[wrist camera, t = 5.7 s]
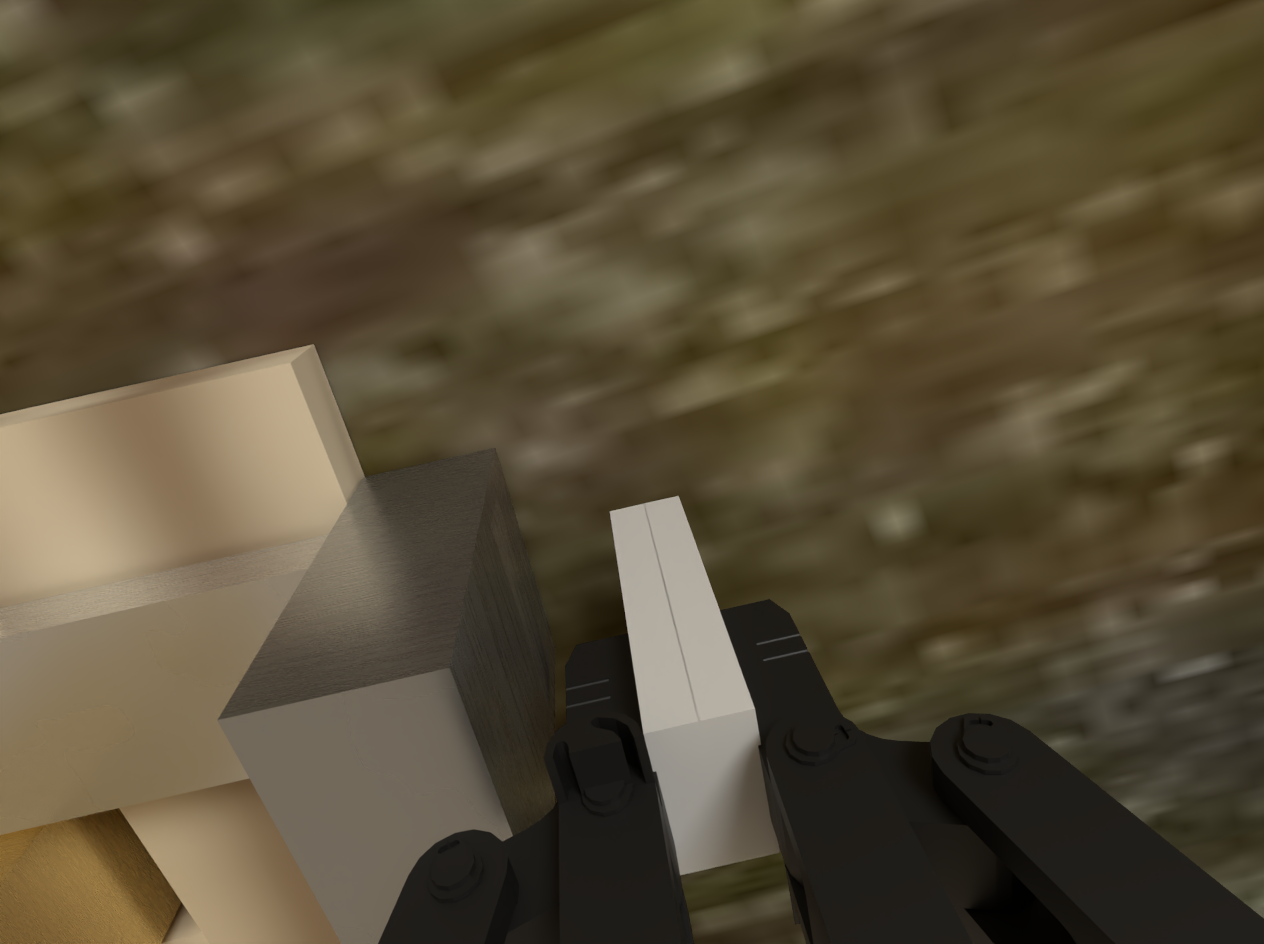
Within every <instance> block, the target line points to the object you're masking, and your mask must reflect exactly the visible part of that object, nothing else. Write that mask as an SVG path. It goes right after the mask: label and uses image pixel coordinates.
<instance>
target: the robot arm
mask: <svg viewBox="0 0 1264 944" xmlns="http://www.w3.org/2000/svg"><path fill="white" fill-rule="evenodd" d="M610 516H611V523H612V529H613V536H614V543H615V549H616V556H617V563H618V569H619V576H620V582H621V589H622V596H623V602H624V609H625V615H626V622H627V629H628V633H627V634H623V635H618V636H614V637H609V638H605V639H601V640H596V641H592V642H587V643H583V644H578V645H576V647H575V649H574V651H573V653H572V654H571V656H570V658H569V660H568V662H567V664H566V666H565V671H566V706H567V709H566V724H565V725H564V726H562V727H561V728H560V729H558V730H557V731H556V733H555V734H554V735H553V737H552V738H551V739H550V741H549V742H548V743H547V747H546V751H545V754H544V758H543V759H544V762H545V765H546V768H547V771H548V774H549V777H550V780H551V783H552V786H553V789H554V792H555V795H556V798H557V801H558V802H557V803H556V805H555V806H554V807H553V809H552V810H551V811H550V812H549V813H547V814H546V815H545V816H544V817H543V818H542V819H541V820H539V821H538V822H536V823H535V824H533V825H532V826H530V827H529V828H527V829H525V830H523V831H521V832H520V833H518V834H516V835H514V836H512V837H510V838H508V839H506V840H504V841H501V840H500V839H499V838H497V837H496V836H495V835H494V834H492V833H491V832H487V831H481V830H476V829H472V830H467V831H462V832H457V833H454V834H452V835H450V836H448V837H446V838H444V839H442V840H440V841H438V842H436V843H435V844H434V845H433V846H432V847H431V848H430V849H428V850H427V851H426V852H425V853H424V854H423V855H422V856H421V857H420V858H419V859H418V861H417V862H416V864H415V866H414V867H413V869H412V870H411V872H410V873H409V875H408V877H407V879H406V882H405V884H404V886H403V888H402V891H401V893H400V895H399V897H398V900H397V902H396V904H395V906H394V909H393V911H392V913H391V915H390V918H389V920H388V922H387V924H386V927H385V929H384V931H383V933H382V936H381V938H380V940H379V942H378V944H694V940H693V935H692V929H691V923H690V918H689V912H688V908H687V904H686V900H685V896H684V893H683V889H682V883H681V877H680V875H684V874H688V873H692V872H697V871H701V870H705V869H710V868H714V867H719V866H723V865H727V864H732V863H736V862H740V861H745V860H749V859H754V858H758V857H762V856H767V855H771V854H775V853H780V851H779V847H780V850H781V853H782V856H783V859H784V862H785V868H786V873H787V879H788V885H789V891H790V897H791V903H792V909H793V915H794V921H795V925H796V924H800V925H801V928H802V931H803V934H804V937H805V941H806V944H973V943H974V944H1264V919H1263V918H1262V917H1261V916H1260V915H1258V914H1257V913H1256V912H1255V911H1253V910H1252V909H1251V908H1250V907H1248V906H1247V905H1246V904H1245V903H1243V902H1242V901H1241V900H1240V899H1238V898H1237V897H1236V896H1235V895H1234V894H1232V893H1231V892H1230V891H1229V890H1227V889H1226V888H1225V887H1224V886H1222V885H1221V884H1220V883H1219V882H1217V881H1216V880H1215V879H1214V878H1212V877H1211V876H1210V875H1209V874H1207V873H1206V872H1205V871H1204V870H1202V869H1201V868H1200V867H1199V866H1197V865H1196V864H1195V863H1194V862H1192V861H1191V860H1190V859H1189V858H1187V857H1186V856H1185V855H1184V854H1182V853H1181V852H1180V851H1179V850H1177V849H1176V848H1175V847H1174V846H1172V845H1171V844H1170V843H1169V842H1167V841H1166V840H1165V839H1164V838H1162V837H1161V836H1160V835H1159V834H1157V833H1156V832H1155V831H1154V830H1152V829H1151V828H1150V827H1149V826H1147V825H1146V824H1145V823H1144V822H1142V821H1141V820H1140V819H1139V818H1137V817H1136V816H1135V815H1134V814H1133V813H1131V812H1130V811H1129V810H1128V809H1126V808H1125V807H1124V806H1123V805H1121V804H1120V803H1119V802H1118V801H1116V800H1115V799H1114V798H1113V797H1111V796H1110V795H1109V794H1108V793H1106V792H1105V791H1104V790H1103V789H1101V788H1100V787H1099V786H1098V785H1096V784H1095V783H1094V782H1093V781H1091V780H1090V779H1089V778H1088V777H1086V776H1085V775H1084V774H1083V773H1081V772H1080V771H1079V770H1078V769H1076V768H1075V767H1074V766H1073V765H1071V764H1070V763H1069V762H1068V761H1066V760H1065V759H1064V758H1063V757H1061V756H1060V755H1059V754H1058V753H1056V752H1055V751H1054V750H1053V749H1051V748H1050V747H1049V746H1048V745H1046V744H1045V743H1044V742H1043V741H1041V740H1040V739H1039V738H1038V737H1036V736H1035V735H1034V734H1033V733H1031V732H1030V731H1029V730H1027V729H1025V728H1024V727H1022V726H1020V725H1019V724H1017V723H1015V722H1013V721H1012V720H1009V719H1006V718H1002V717H999V716H995V715H991V714H973V713H968V714H964V715H960V716H956V717H953V718H949V719H948V720H947V721H945V722H944V723H943V724H941V725H940V726H938V727H937V728H936V730H935V732H934V734H933V736H932V738H931V741H930V742H912V741H895V740H887V739H881V738H878V737H875V736H872V735H868V734H866V733H864V732H863V731H861V730H859V729H858V728H857V727H856V726H855V724H854V723H853V722H851V721H850V720H848V719H846V718H844V717H843V716H842V714H841V713H840V711H839V710H838V708H837V706H836V704H835V702H834V700H833V698H832V696H831V694H830V692H829V690H828V688H827V686H826V684H825V683H824V681H823V679H822V677H821V675H820V673H819V671H818V669H817V667H816V665H815V663H814V661H813V659H812V657H811V655H810V653H809V652H808V651H807V647H806V645H805V643H804V641H803V639H802V637H801V636H800V635H799V631H798V629H797V627H796V626H795V624H794V622H793V620H792V618H791V616H790V614H789V613H788V612H787V611H785V610H784V609H783V608H781V607H780V606H778V605H777V604H775V603H774V602H773V601H771V600H770V599H768V600H764V601H760V602H755V603H751V604H746V605H742V606H737V607H733V608H729V609H724V610H719V607H718V604H717V602H716V599H715V596H714V593H713V591H712V588H711V585H710V582H709V579H708V577H707V574H706V571H705V568H704V565H703V563H702V560H701V557H700V554H699V552H698V549H697V546H696V543H695V540H694V538H693V535H692V532H691V529H690V527H689V524H688V521H687V518H686V515H685V513H684V510H683V507H682V504H681V501H680V499H679V496H676V497H671V498H667V499H662V500H658V501H654V502H649V503H645V504H640V505H636V506H631V507H627V508H623V509H618V510H614V511H610ZM778 843H779V846H778ZM972 942H973V943H972Z"/></svg>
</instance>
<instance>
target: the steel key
mask: <svg viewBox="0 0 1264 944" xmlns="http://www.w3.org/2000/svg"><path fill="white" fill-rule="evenodd" d="M554 734H555V645H554V641H553V638H552V635H551V631H550V628H549V625H548V621H547V618H546V615H545V611H544V608H543V605H542V601H541V598H540V595H539V591H538V588H537V585H536V581H535V578H534V575H533V571H532V568H531V565H530V561H529V558H528V555H527V552H526V548H525V545H524V542H523V538H522V535H521V532H520V528H519V525H518V522H517V518H516V515H515V512H514V508H513V505H512V502H511V498H510V495H509V492H508V488H507V485H506V482H505V478H504V475H503V472H502V468H501V465H500V462H499V458H498V455H497V452H496V448H492V449H488V450H484V451H479V452H475V453H470V454H466V455H461V456H457V457H452V458H448V459H443V460H439V461H435V462H430V463H426V464H421V465H417V466H412V467H408V468H403V469H399V470H395V471H390V472H386V473H381V474H377V475H372V476H368V477H363V478H362V480H361V481H360V483H359V485H358V486H357V488H356V490H355V491H354V493H353V495H352V496H351V498H350V500H349V501H348V503H347V505H346V506H345V508H344V510H343V511H342V513H341V515H340V516H339V518H338V520H337V521H336V523H335V525H334V526H333V528H332V530H331V531H330V533H329V534H327V535H322V536H318V537H313V538H309V539H304V540H300V541H295V542H291V543H287V544H282V545H278V546H273V547H269V548H264V549H260V550H255V551H251V552H247V553H242V554H238V555H233V556H229V557H224V558H220V559H215V560H211V561H207V562H202V563H198V564H193V565H189V566H184V567H180V568H175V569H171V570H167V571H162V572H158V573H153V574H149V575H144V576H140V577H135V578H131V579H127V580H122V581H118V582H113V583H109V584H104V585H100V586H95V587H91V588H87V589H82V590H78V591H73V592H69V593H64V594H60V595H55V596H51V597H46V598H42V599H38V600H33V601H29V602H24V603H20V604H15V605H11V606H6V607H2V608H0V835H2V834H7V833H11V832H15V831H20V830H24V829H29V828H33V827H37V826H42V825H46V824H51V823H55V822H59V821H64V820H68V819H73V818H77V817H82V816H86V815H90V814H95V813H99V812H104V811H108V810H112V809H117V808H121V807H126V806H130V805H134V804H139V803H143V802H148V801H152V800H157V799H161V798H165V797H170V796H174V795H179V794H183V793H187V792H192V791H196V790H201V789H205V788H209V787H214V786H218V785H223V784H227V783H231V782H236V781H240V780H245V779H250V780H251V782H252V784H253V786H254V787H255V789H256V791H257V793H258V795H259V796H260V798H261V800H262V802H263V804H264V805H265V807H266V809H267V811H268V813H269V814H270V816H271V818H272V820H273V822H274V823H275V825H276V827H277V829H278V831H279V832H280V834H281V836H282V838H283V840H284V841H285V843H286V845H287V847H288V849H289V850H290V852H291V854H292V856H293V858H294V859H295V861H296V863H297V865H298V866H299V868H300V870H301V872H302V874H303V875H304V877H305V879H306V881H307V883H308V884H309V886H310V888H311V890H312V892H313V893H314V895H315V897H316V899H317V901H318V902H319V904H320V906H321V908H322V910H323V911H324V913H325V915H326V917H327V919H328V920H329V922H330V924H331V926H332V928H333V929H334V931H335V933H336V935H337V937H338V938H339V940H340V942H341V944H378V942H379V940H380V938H381V936H382V933H383V931H384V929H385V927H386V924H387V922H388V920H389V918H390V915H391V913H392V911H393V909H394V906H395V904H396V902H397V900H398V897H399V895H400V893H401V891H402V888H403V886H404V884H405V882H406V879H407V877H408V875H409V873H410V872H411V870H412V869H413V867H414V866H415V864H416V862H417V861H418V859H419V858H420V857H421V856H422V855H423V854H424V853H425V852H426V851H427V850H428V849H430V848H431V847H432V846H433V845H434V844H435V843H436V842H438V841H440V840H442V839H444V838H446V837H448V836H450V835H452V834H454V833H457V832H462V831H467V830H472V829H476V830H481V831H487V832H491V833H492V834H494V835H495V836H496V837H497V838H499V839H500V840H501V841H504V840H506V839H508V838H510V837H512V836H514V835H516V834H518V833H520V832H521V831H523V830H525V829H527V828H529V827H530V826H532V825H533V824H535V823H536V822H538V821H539V820H541V819H542V818H543V817H544V816H545V815H546V814H547V813H549V812H550V811H551V810H552V809H553V807H554V806H555V792H554V789H553V786H552V783H551V780H550V777H549V774H548V771H547V768H546V765H545V762H544V759H543V758H544V754H545V751H546V747H547V743H548V742H549V741H550V739H551V738H552V737H553V735H554Z"/></svg>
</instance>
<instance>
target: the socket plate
mask: <svg viewBox="0 0 1264 944" xmlns="http://www.w3.org/2000/svg"><path fill="white" fill-rule="evenodd" d="M363 477H365V476H364V473H363V471H362V468H361V466H360V463H359V460H358V458H357V455H356V453H355V450H354V447H353V445H352V442H351V440H350V437H349V434H348V432H347V429H346V427H345V424H344V421H343V419H342V416H341V414H340V411H339V408H338V406H337V403H336V401H335V398H334V396H333V393H332V390H331V388H330V385H329V383H328V380H327V377H326V375H325V372H324V370H323V367H322V364H321V362H320V359H319V357H318V354H317V351H316V349H315V346H314V344H313V345H309V346H304V347H300V348H295V349H291V350H286V351H282V352H277V353H273V354H268V355H264V356H259V357H255V358H251V359H246V360H242V361H237V362H233V363H228V364H224V365H219V366H215V367H210V368H206V369H201V370H197V371H192V372H188V373H183V374H179V375H174V376H170V377H166V378H161V379H157V380H152V381H148V382H143V383H139V384H134V385H130V386H125V387H121V388H116V389H112V390H107V391H103V392H98V393H94V394H89V395H85V396H80V397H76V398H72V399H67V400H63V401H58V402H54V403H49V404H45V405H40V406H36V407H31V408H27V409H22V410H18V411H13V412H9V413H4V414H0V608H2V607H6V606H11V605H15V604H20V603H24V602H29V601H33V600H38V599H42V598H46V597H51V596H55V595H60V594H64V593H69V592H73V591H78V590H82V589H87V588H91V587H95V586H100V585H104V584H109V583H113V582H118V581H122V580H127V579H131V578H135V577H140V576H144V575H149V574H153V573H158V572H162V571H167V570H171V569H175V568H180V567H184V566H189V565H193V564H198V563H202V562H207V561H211V560H215V559H220V558H224V557H229V556H233V555H238V554H242V553H247V552H251V551H255V550H260V549H264V548H269V547H273V546H278V545H282V544H287V543H291V542H295V541H300V540H304V539H309V538H313V537H318V536H322V535H327V534H329V533H330V531H331V530H332V528H333V526H334V525H335V523H336V521H337V520H338V518H339V516H340V515H341V513H342V511H343V510H344V508H345V506H346V505H347V503H348V501H349V500H350V498H351V496H352V495H353V493H354V491H355V490H356V488H357V486H358V485H359V483H360V481H361V480H362V478H363ZM119 809H120V810H121V812H122V813H123V815H124V816H125V818H126V819H127V821H128V822H129V824H130V825H131V827H132V828H133V830H134V831H135V833H136V834H137V836H138V837H139V839H140V840H141V842H142V843H143V845H144V846H145V848H146V849H147V851H148V852H149V854H150V855H151V857H152V858H153V860H154V861H155V863H156V864H157V866H158V867H159V869H160V870H161V872H162V873H163V875H164V876H165V878H166V879H167V881H168V882H169V884H170V885H171V887H172V888H173V890H174V891H175V893H176V894H177V896H178V897H179V899H180V900H181V904H180V906H179V908H178V910H177V912H176V914H175V916H174V918H173V920H172V922H171V924H170V926H169V928H168V930H167V932H166V934H165V936H164V938H163V940H162V942H161V944H341V942H340V940H339V938H338V937H337V935H336V933H335V931H334V929H333V928H332V926H331V924H330V922H329V920H328V919H327V917H326V915H325V913H324V911H323V910H322V908H321V906H320V904H319V902H318V901H317V899H316V897H315V895H314V893H313V892H312V890H311V888H310V886H309V884H308V883H307V881H306V879H305V877H304V875H303V874H302V872H301V870H300V868H299V866H298V865H297V863H296V861H295V859H294V858H293V856H292V854H291V852H290V850H289V849H288V847H287V845H286V843H285V841H284V840H283V838H282V836H281V834H280V832H279V831H278V829H277V827H276V825H275V823H274V822H273V820H272V818H271V816H270V814H269V813H268V811H267V809H266V807H265V805H264V804H263V802H262V800H261V798H260V796H259V795H258V793H257V791H256V789H255V787H254V786H253V784H252V782H251V780H250V779H245V780H240V781H236V782H231V783H227V784H223V785H218V786H214V787H209V788H205V789H201V790H196V791H192V792H187V793H183V794H179V795H174V796H170V797H165V798H161V799H157V800H152V801H148V802H143V803H139V804H134V805H130V806H126V807H121V808H119Z"/></svg>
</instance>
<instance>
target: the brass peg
mask: <svg viewBox="0 0 1264 944" xmlns="http://www.w3.org/2000/svg"><path fill="white" fill-rule="evenodd" d="M180 904H181V900H180V899H179V897H178V896H177V894H176V893H175V891H174V890H173V888H172V887H171V885H170V884H169V882H168V881H167V879H166V878H165V876H164V875H163V873H162V872H161V870H160V869H159V867H158V866H157V864H156V863H155V861H154V860H153V858H152V857H151V855H150V854H149V852H148V851H147V849H146V848H145V846H144V845H143V843H142V842H141V840H140V839H139V837H138V836H137V834H136V833H135V831H134V830H133V828H132V827H131V825H130V824H129V822H128V821H127V819H126V818H125V816H124V815H123V813H122V812H121V810H120V809H119V808H117V809H112V810H108V811H104V812H99V813H95V814H90V815H86V816H82V817H77V818H73V819H68V820H64V821H59V822H55V823H51V824H46V825H42V826H37V827H33V828H29V829H24V830H20V831H15V832H11V833H7V834H2V835H0V944H161V942H162V940H163V938H164V936H165V934H166V932H167V930H168V928H169V926H170V924H171V922H172V920H173V918H174V916H175V914H176V912H177V910H178V908H179V906H180Z"/></svg>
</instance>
